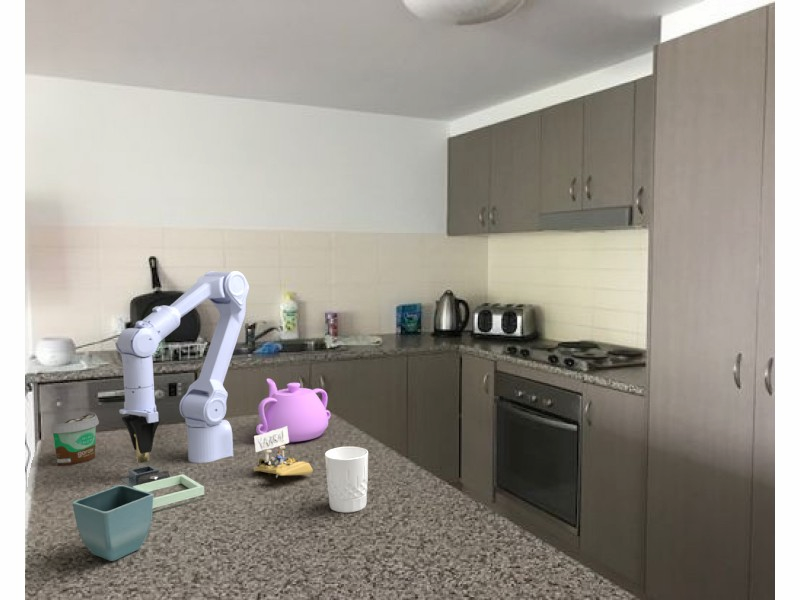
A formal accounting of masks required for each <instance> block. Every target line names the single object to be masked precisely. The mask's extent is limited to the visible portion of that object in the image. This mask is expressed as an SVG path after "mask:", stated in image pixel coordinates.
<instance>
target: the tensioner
mask: <svg viewBox="0 0 800 600" xmlns="http://www.w3.org/2000/svg"><path fill="white" fill-rule="evenodd" d="M127 471H128V477H125V478H121V479H120V480H121V481H122V482H123V483H125V484H126V486H128V487H131V488H133V486H136V485H140V484H144V483H149V482H153V481H157V480H161V479H165V478H169V477H171V475H170V473H169V472H170V471H169V470H164V471H163V470H162V471H161V470H159V469H158V468H156V467H154V466H153V465H151V464H149V465H144V466H140V467H135V468H132V469H127Z"/></svg>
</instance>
